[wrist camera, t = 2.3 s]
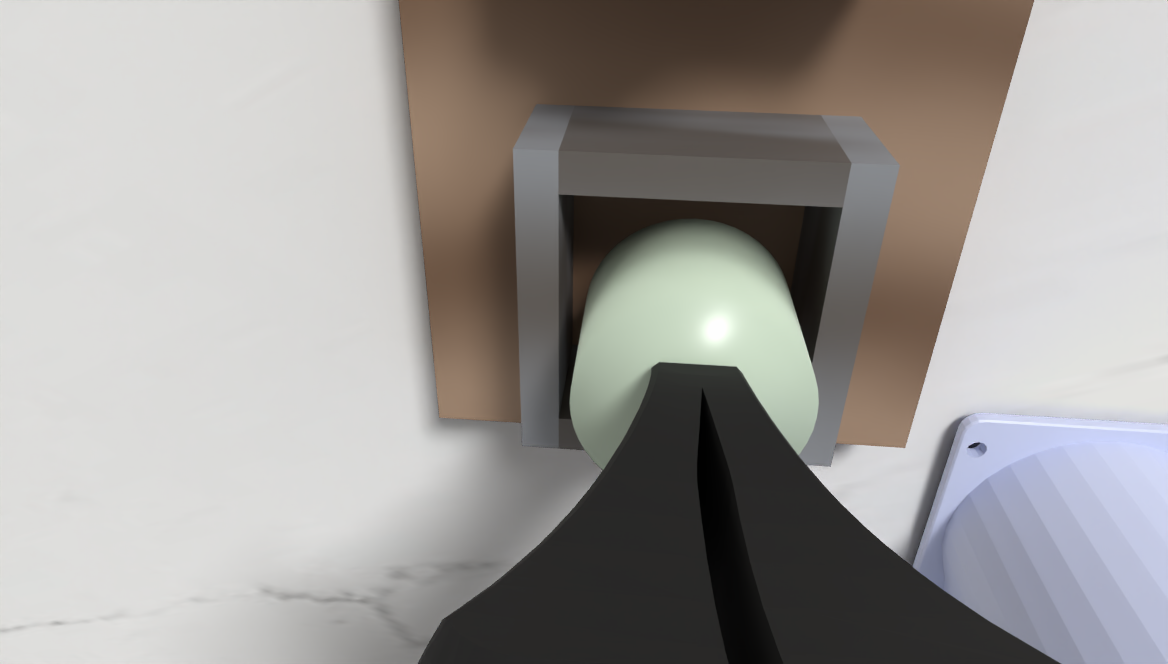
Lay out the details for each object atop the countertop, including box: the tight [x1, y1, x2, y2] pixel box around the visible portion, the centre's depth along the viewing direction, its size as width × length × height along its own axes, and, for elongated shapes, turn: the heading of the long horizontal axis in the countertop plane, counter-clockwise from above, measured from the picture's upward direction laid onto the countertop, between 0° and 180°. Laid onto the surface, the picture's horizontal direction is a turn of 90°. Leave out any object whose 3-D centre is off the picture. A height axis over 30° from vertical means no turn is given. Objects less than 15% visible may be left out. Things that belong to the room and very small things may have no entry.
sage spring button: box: [570, 219, 819, 470], centre depth 14 cm, size 4×4×3 cm
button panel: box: [399, 0, 1034, 467], centre depth 15 cm, size 20×12×5 cm, turn 179°
